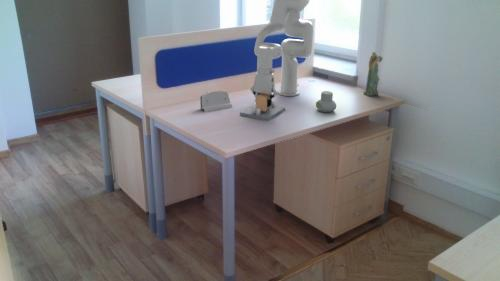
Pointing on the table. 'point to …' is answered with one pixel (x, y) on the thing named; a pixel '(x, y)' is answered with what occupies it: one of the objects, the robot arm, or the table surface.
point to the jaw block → (261, 101)
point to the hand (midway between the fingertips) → (263, 104)
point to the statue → (372, 75)
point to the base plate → (263, 112)
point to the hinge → (215, 101)
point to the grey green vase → (326, 102)
